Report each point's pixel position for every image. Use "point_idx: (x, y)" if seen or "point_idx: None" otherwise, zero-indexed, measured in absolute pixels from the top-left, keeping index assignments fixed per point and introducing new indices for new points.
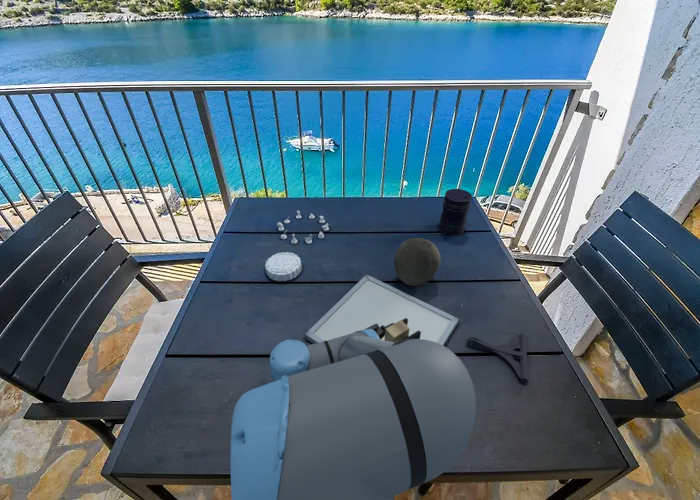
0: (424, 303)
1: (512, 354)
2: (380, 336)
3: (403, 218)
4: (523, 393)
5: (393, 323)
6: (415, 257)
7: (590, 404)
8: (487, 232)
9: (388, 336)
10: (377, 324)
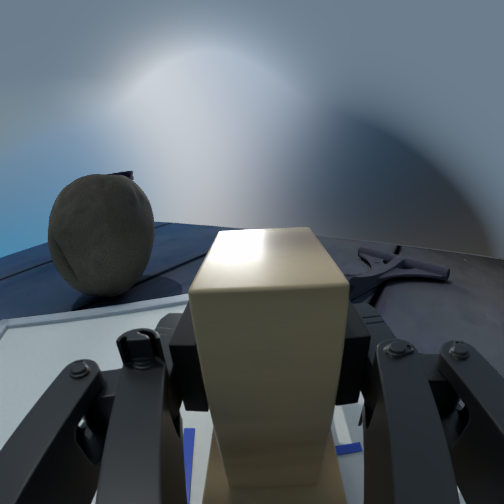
0: (178, 297)
1: (396, 265)
2: (172, 427)
3: (45, 252)
4: (466, 288)
5: (172, 314)
6: (98, 190)
7: (474, 256)
8: (169, 224)
9: (260, 351)
10: (83, 360)
